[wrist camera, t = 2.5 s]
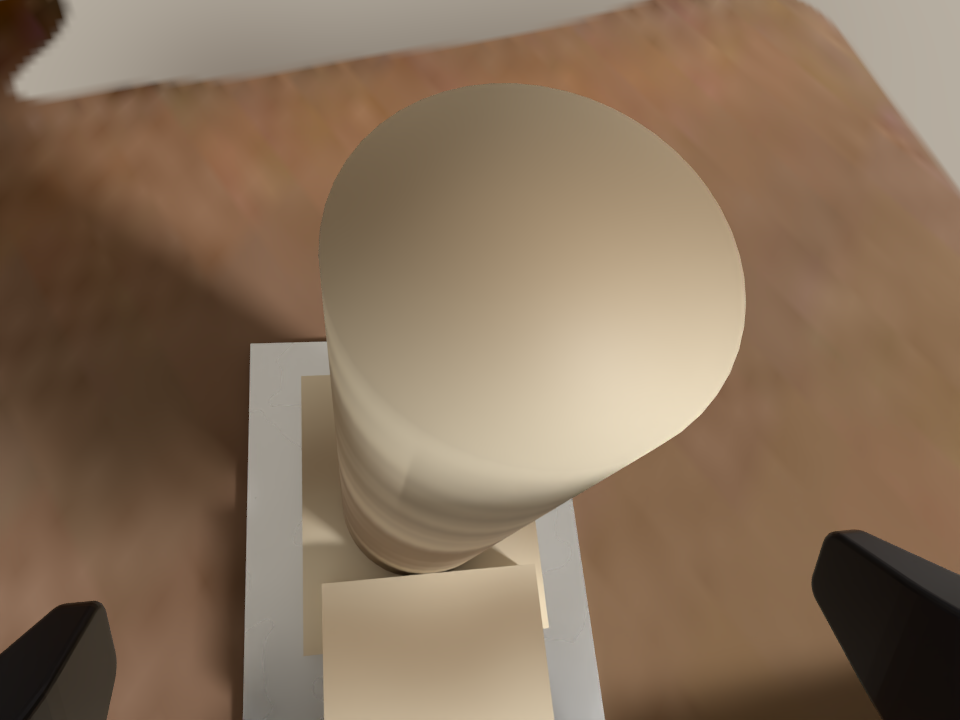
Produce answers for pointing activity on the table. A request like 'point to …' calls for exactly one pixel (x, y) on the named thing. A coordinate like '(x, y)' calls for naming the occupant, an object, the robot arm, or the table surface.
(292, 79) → the table surface
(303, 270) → the table surface
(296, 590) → the grey rectangular plate
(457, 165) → the beige peg stand
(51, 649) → the robot arm
